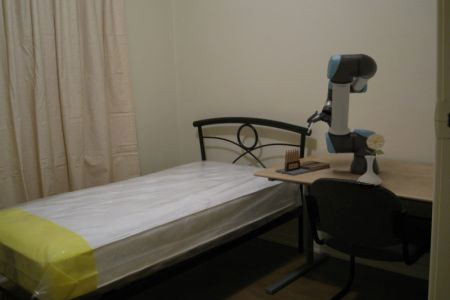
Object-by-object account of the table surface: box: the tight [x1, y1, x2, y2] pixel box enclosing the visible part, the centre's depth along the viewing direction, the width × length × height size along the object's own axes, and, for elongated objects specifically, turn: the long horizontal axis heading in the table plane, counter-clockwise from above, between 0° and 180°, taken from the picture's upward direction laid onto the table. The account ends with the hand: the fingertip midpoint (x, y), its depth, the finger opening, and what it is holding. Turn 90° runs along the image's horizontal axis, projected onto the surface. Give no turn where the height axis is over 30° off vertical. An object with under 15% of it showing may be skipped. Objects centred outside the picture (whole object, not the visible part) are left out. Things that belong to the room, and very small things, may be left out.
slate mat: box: [275, 167, 311, 176], centre depth 238 cm, size 14×13×1 cm
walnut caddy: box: [300, 160, 331, 173], centre depth 247 cm, size 14×16×2 cm
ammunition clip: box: [284, 148, 301, 172], centre depth 237 cm, size 11×2×12 cm, turn 126°
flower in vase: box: [357, 132, 386, 186], centre depth 200 cm, size 13×11×25 cm
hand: (318, 135), depth 239 cm, fingers open, 11 cm apart
